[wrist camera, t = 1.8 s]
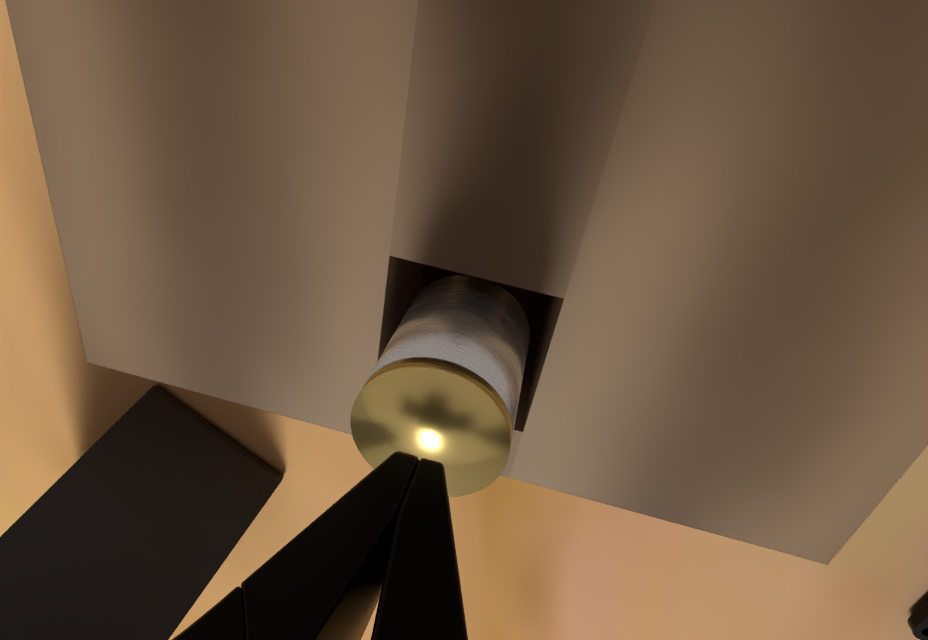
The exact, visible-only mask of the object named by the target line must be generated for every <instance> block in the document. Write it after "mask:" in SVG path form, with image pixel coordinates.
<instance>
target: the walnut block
mask: <svg viewBox="0 0 928 640" xmlns="http://www.w3.org/2000/svg"><path fill="white" fill-rule="evenodd" d="M5 1H6V6H7V10H8V15H9V19H10V23H11V28H12V32H13V37H14V41H15V46H16V50H17V54H18V59H19V63H20V68H21V72H22V77H23V81H24V85H25V90H26V94H27V99H28V103H29V108H30V112H31V116H32V121H33V125H34V130H35V134H36V139H37V143H38V147H39V152H40V156H41V161H42V165H43V170H44V174H45V178H46V183H47V187H48V192H49V196H50V201H51V205H52V209H53V214H54V218H55V223H56V227H57V232H58V236H59V240H60V245H61V249H62V254H63V258H64V263H65V267H66V271H67V276H68V280H69V285H70V289H71V294H72V298H73V302H74V307H75V311H76V316H77V320H78V325H79V329H80V333H81V338H82V342H83V347H84V351H85V356H86V360H87V362H88V363H92V364H95V365H99V366H103V367H106V368H110V369H114V370H117V371H121V372H125V373H128V374H132V375H136V376H139V377H143V378H147V379H150V380H154V381H158V382H161V383H165V384H169V385H172V386H176V387H180V388H183V389H187V390H191V391H194V392H198V393H202V394H205V395H209V396H213V397H216V398H220V399H223V400H227V401H231V402H234V403H238V404H242V405H245V406H249V407H253V408H256V409H260V410H264V411H267V412H271V413H275V414H278V415H282V416H286V417H289V418H293V419H297V420H300V421H304V422H308V423H311V424H315V425H319V426H322V427H326V428H330V429H333V430H337V431H340V432H344V433H348V434H351V435H352V432H351V425H350V416H351V411H352V407H353V404H354V402H355V400H356V398H357V396H358V395H359V393H360V391H361V389H362V388H363V386H364V384H365V383H366V381H367V379H368V377H369V376H370V374H371V372H372V370H373V369H374V367H375V365H376V364H377V362H378V360H379V358H380V357H381V355H382V353H383V352H384V350H385V348H386V346H387V345H388V343H389V341H390V339H391V338H392V336H393V334H394V333H395V331H396V329H397V327H398V326H399V324H400V322H401V320H402V319H403V317H404V315H405V314H406V312H407V310H408V308H409V307H410V305H411V303H412V302H413V300H414V298H415V297H416V295H417V294H418V293H419V292H420V287H421V280H422V274H423V267H424V264H426V265H430V266H434V267H438V268H442V269H446V270H450V271H454V272H458V273H462V274H466V275H470V276H474V277H478V278H482V279H486V280H490V281H494V282H499V283H503V284H507V285H511V286H515V287H519V288H523V289H527V290H531V291H535V292H539V293H543V294H547V295H551V297H550V301H549V304H548V307H547V311H546V314H545V318H544V321H543V325H542V328H541V331H540V335H539V338H538V342H537V345H534V344H530V343H529V346H528V352H527V357H526V363H525V369H524V374H523V380H522V386H521V391H520V397H519V403H518V408H517V414H516V420H515V425H514V431H513V437H512V442H511V448H510V453H509V458H508V461H507V464H506V466H505V468H504V470H503V471H502V473H501V474H500V475H501V476H505V477H509V478H512V479H516V480H520V481H523V482H527V483H531V484H534V485H538V486H542V487H545V488H549V489H553V490H556V491H560V492H564V493H567V494H571V495H575V496H578V497H582V498H585V499H589V500H593V501H596V502H600V503H604V504H607V505H611V506H615V507H618V508H622V509H626V510H629V511H633V512H637V513H640V514H644V515H648V516H651V517H655V518H659V519H662V520H666V521H670V522H673V523H677V524H681V525H684V526H688V527H692V528H695V529H699V530H703V531H706V532H710V533H713V534H717V535H721V536H724V537H728V538H732V539H735V540H739V541H743V542H746V543H750V544H754V545H757V546H761V547H765V548H768V549H772V550H776V551H779V552H783V553H787V554H790V555H794V556H798V557H801V558H805V559H809V560H812V561H816V562H820V563H823V564H827V565H828V564H829V563H830V561H831V560H832V559H833V558H834V557H835V555H836V554H837V553H838V552H839V551H840V549H841V548H842V547H843V546H844V545H845V543H846V542H847V541H848V540H849V539H850V537H851V536H852V535H853V534H854V533H855V532H856V530H857V529H858V528H859V527H860V526H861V524H862V523H863V522H864V521H865V520H866V518H867V517H868V516H869V515H870V514H871V512H872V511H873V510H874V509H875V508H876V506H877V505H878V504H879V503H880V502H881V500H882V499H883V498H884V497H885V496H886V494H887V493H888V492H889V491H890V490H891V488H892V487H893V486H894V485H895V484H896V483H897V481H898V480H899V479H900V478H901V477H902V475H903V474H904V473H905V472H906V471H907V469H908V468H909V467H910V466H911V465H912V463H913V462H914V461H915V460H916V459H917V457H918V456H919V455H920V454H921V453H922V451H923V450H924V449H925V448H926V447H927V445H928V0H5Z"/></svg>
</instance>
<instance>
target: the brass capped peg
mask: <svg viewBox="0 0 928 640" xmlns="http://www.w3.org/2000/svg"><path fill="white" fill-rule="evenodd" d="M529 339H530V331H529V324H528V321H527V318H526V315H525V313H524V311H523V309H522V308H521V306H520V304H519V303H518V302H517V301H516V299H515V298H514V297H513V296H512V295H511V294H510V293H509V292H507V291H506V290H505V289H503V288H502V287H500V286H499V285H497V284H495V283H493V282H491V281H488V280H486V279H482V278H478V277H474V276H467V275H456V276H449V277H444V278H441V279H438V280H436V281H434V282H432V283H430V284H429V285H427V286H426V287H424V288H423V289H422V290H421V291H420V292H419V293H418V294H417V295H416V297H415V298H414V300H413V302H412V303H411V305H410V307H409V308H408V310H407V312H406V314H405V315H404V317H403V319H402V320H401V322H400V324H399V326H398V327H397V329H396V331H395V333H394V334H393V336H392V338H391V339H390V341H389V343H388V345H387V346H386V348H385V350H384V352H383V353H382V355H381V357H380V358H379V360H378V362H377V364H376V365H375V367H374V369H373V370H372V372H371V374H370V376H369V377H368V379H367V381H366V383H365V384H364V386H363V388H362V389H361V391H360V393H359V395H358V396H357V398H356V400H355V402H354V404H353V407H352V411H351V416H350V425H351V432H352V435H353V439H354V441H355V444H356V446H357V448H358V450H359V451H360V453H361V454H362V456H363V457H364V458H365V460H366V461H367V462H368V463H369V464H370V465H371V466H372V467H373V468H374V469H375V468H376V467H378V466H379V465H380V464H381V463H382V462H383V461H385V460H386V459H387V458H388V457H389V456H390V455H392V454H393V453H394V452H397V451H401V452H404V453H408V454H412V455H415V456H417V457H418V458H419V460H420V459H421V458H426V459H430V460H434V461H437V462H441V463H442V464H443V465H444V469H445V476H446V484H447V491H448V497H457V496H463V495H467V494H471V493H474V492H477V491H479V490H481V489H483V488H485V487H487V486H488V485H490V484H491V483H492V482H493V481H495V480H496V479H497V478H498V477H499V475H500V474H501V473H502V471H503V470H504V468H505V466H506V464H507V461H508V458H509V453H510V448H511V442H512V437H513V431H514V425H515V420H516V414H517V408H518V403H519V397H520V391H521V386H522V380H523V374H524V369H525V363H526V357H527V352H528V346H529Z"/></svg>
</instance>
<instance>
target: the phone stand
mask: <svg viewBox="0 0 928 640" xmlns="http://www.w3.org/2000/svg"><path fill="white" fill-rule="evenodd" d="M282 479H283V476H282V475H280V474H279V473H277V472H276V471H275V470H273V469H272V468H270V467H269V466H268V465H266V464H265V463H263V462H262V461H261V460H259V459H258V458H257V457H255V456H254V455H252V454H251V453H250V452H248V451H247V450H245V449H244V448H243V447H241V446H240V445H238V444H237V443H236V442H234V441H233V440H232V439H230V438H229V437H227V436H226V435H225V434H223V433H222V432H220V431H219V430H218V429H216V428H215V427H213V426H212V425H211V424H209V423H208V422H207V421H205V420H204V419H202V418H201V417H200V416H198V415H197V414H195V413H194V412H193V411H191V410H190V409H188V408H187V407H186V406H184V405H183V404H182V403H180V402H179V401H177V400H176V399H175V398H173V397H172V396H170V395H169V394H168V393H166V392H165V391H163V390H162V389H161V388H159V387H158V386H157V385H154V386H153V387H152V388H151V389H150V390H149V391H148V392H147V393H146V394H145V395H144V396H143V397H141V398H140V399H139V400H138V401H137V402H136V403H135V404H134V405H133V406H132V407H131V408H130V409H129V410H128V411H127V412H126V413H125V414H124V415H123V416H122V417H121V418H120V419H119V420H118V421H117V422H116V423H115V424H114V425H113V426H112V427H111V428H110V429H109V430H108V431H107V432H106V433H105V434H104V435H103V436H102V437H101V438H100V439H99V440H98V441H97V442H96V443H95V444H94V445H93V446H92V447H91V448H90V449H89V450H88V451H87V452H86V453H85V454H84V455H83V456H82V457H81V458H80V459H79V460H78V461H77V462H76V463H75V464H74V465H73V466H72V467H71V468H70V469H69V470H68V471H67V472H66V473H65V474H64V475H63V476H62V477H61V478H59V479H58V480H57V481H56V482H55V483H54V484H53V485H52V486H51V487H50V488H49V489H48V490H47V491H46V492H45V493H44V494H43V495H42V496H41V497H40V498H39V499H38V500H37V501H36V502H35V503H34V504H33V505H32V506H31V507H30V508H29V509H28V510H27V511H26V512H25V513H24V514H23V515H22V516H21V517H20V518H19V519H18V520H17V521H16V522H15V523H14V524H13V525H12V526H11V527H10V528H9V529H8V530H7V531H6V532H5V533H4V534H3V535H2V536H1V537H0V640H168V639H169V638H170V636H171V635H172V634H173V632H174V631H175V629H176V628H177V627H178V625H179V624H180V622H181V621H182V620H183V618H184V617H185V615H186V614H187V613H188V611H189V610H190V608H191V607H192V606H193V604H194V603H195V601H196V600H197V599H198V597H199V596H200V594H201V593H202V592H203V590H204V589H205V587H206V586H207V585H208V583H209V582H210V580H211V579H212V578H213V576H214V575H215V573H216V572H217V571H218V569H219V568H220V566H221V565H222V564H223V562H224V561H225V559H226V558H227V557H228V555H229V554H230V552H231V551H232V550H233V548H234V547H235V545H236V544H237V543H238V541H239V540H240V538H241V537H242V536H243V534H244V533H245V531H246V530H247V528H248V527H249V526H250V524H251V523H252V521H253V520H254V519H255V517H256V516H257V514H258V513H259V512H260V510H261V509H262V507H263V506H264V505H265V503H266V502H267V500H268V499H269V498H270V496H271V495H272V493H273V492H274V491H275V489H276V488H277V486H278V485H279V484H280V482H281V481H282Z"/></svg>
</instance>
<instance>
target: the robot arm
mask: <svg viewBox="0 0 928 640" xmlns="http://www.w3.org/2000/svg"><path fill="white" fill-rule="evenodd" d="M379 597H380V598H379ZM378 600H379V603H378V608H377V613H376V617H375V622H374V627H373V632H372V637H371V640H468V636H467V629H466V622H465V614H464V607H463V600H462V593H461V585H460V578H459V571H458V564H457V556H456V549H455V542H454V534H453V527H452V520H451V513H450V505H449V498H448V491H447V484H446V476H445V469H444V465H443V464H442V463H441V462H437V461H434V460H430V459H426V458H421V459H420V460H419V458H418V457H417V456H415V455H412V454H408V453H404V452H401V451H397V452H394V453H393V454H392V455H390V456H389V457H388V458H387V459H386V460H385V461H383V462H382V463H381V464H380V465H379V466H378V467H376V468H375V469H374V470H373V471H372V472H371V473H369V474H368V475H367V476H366V477H365V478H364V479H362V480H361V481H360V482H359V483H358V484H357V485H355V486H354V487H353V488H352V489H351V490H350V491H348V492H347V493H346V494H345V495H344V496H343V497H341V498H340V499H339V500H338V501H337V502H336V503H334V504H333V505H332V506H331V507H330V508H329V509H327V510H326V511H325V512H324V513H323V514H322V515H320V516H319V517H318V518H317V519H316V520H315V521H313V522H312V523H311V524H310V525H309V526H308V527H306V528H305V529H304V530H303V531H302V532H301V533H299V534H298V535H297V536H296V537H295V538H294V539H292V540H291V541H290V542H289V543H288V544H287V545H285V546H284V547H283V548H282V549H281V550H280V551H278V552H277V553H276V554H275V555H274V556H273V557H271V558H270V559H269V560H268V561H267V562H266V563H264V564H263V565H262V566H261V567H260V568H259V569H257V570H256V571H255V572H254V573H253V574H252V575H250V576H249V577H248V578H247V579H246V580H245V581H243V582H242V584H241V587H236V588H235V589H234V590H233V591H231V592H230V593H229V594H228V595H227V596H226V597H224V598H223V599H222V600H221V601H220V602H219V603H217V604H216V605H215V606H214V607H213V608H211V609H210V610H209V611H208V612H206V613H205V614H204V615H203V616H202V617H200V618H199V619H198V620H197V621H195V622H194V623H193V624H192V625H190V626H189V627H188V628H187V629H186V630H184V631H183V632H182V633H180V634H179V635H178V636H176V637H175V638H174V639H172V640H361V638H362V636H363V634H364V631H365V629H366V627H367V625H368V622H369V620H370V618H371V616H372V613H373V611H374V609H375V607H376V604H377V602H378ZM908 625H909V627H910V628H911V630H912V632H913V634H914V636H915V637H916V638H918V639H920V640H928V600H927V601H926V602H925V603H924V604H923V605H921V606H920V607H919V608H918V609H917V610H916V611H915V612H914V613H913V614H912V615H911V616H910V617H909V619H908Z"/></svg>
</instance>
